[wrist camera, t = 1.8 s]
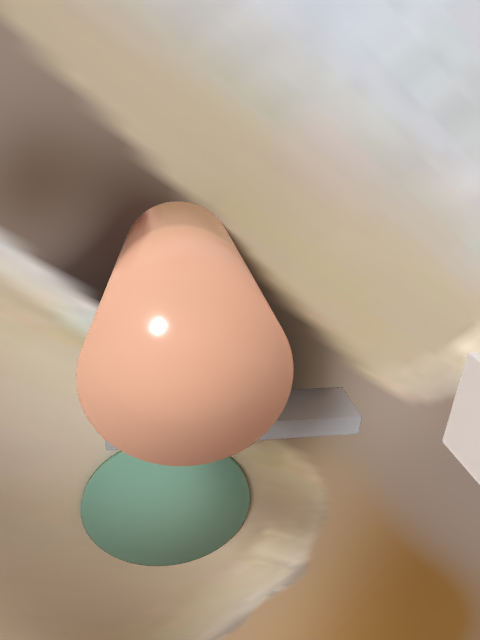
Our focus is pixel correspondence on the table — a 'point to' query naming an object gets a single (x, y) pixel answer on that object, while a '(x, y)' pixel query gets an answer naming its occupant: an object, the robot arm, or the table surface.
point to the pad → (164, 509)
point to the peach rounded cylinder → (183, 345)
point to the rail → (312, 415)
